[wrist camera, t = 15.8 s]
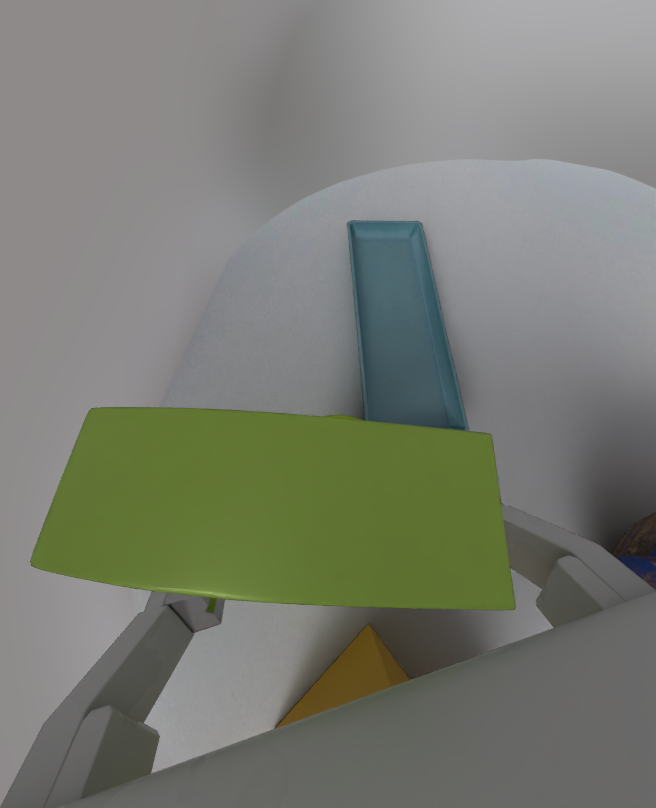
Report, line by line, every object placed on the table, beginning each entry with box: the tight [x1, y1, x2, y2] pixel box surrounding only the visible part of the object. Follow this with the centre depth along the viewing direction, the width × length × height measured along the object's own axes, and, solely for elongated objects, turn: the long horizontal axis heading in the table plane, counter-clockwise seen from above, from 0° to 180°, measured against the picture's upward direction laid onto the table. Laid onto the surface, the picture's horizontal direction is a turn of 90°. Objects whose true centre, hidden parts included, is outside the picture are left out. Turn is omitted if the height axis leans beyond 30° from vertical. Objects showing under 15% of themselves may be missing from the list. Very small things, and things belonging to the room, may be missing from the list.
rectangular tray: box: [347, 220, 469, 431], centre depth 26 cm, size 26×9×2 cm, turn 2°
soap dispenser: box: [30, 407, 515, 610], centre depth 12 cm, size 6×7×20 cm
